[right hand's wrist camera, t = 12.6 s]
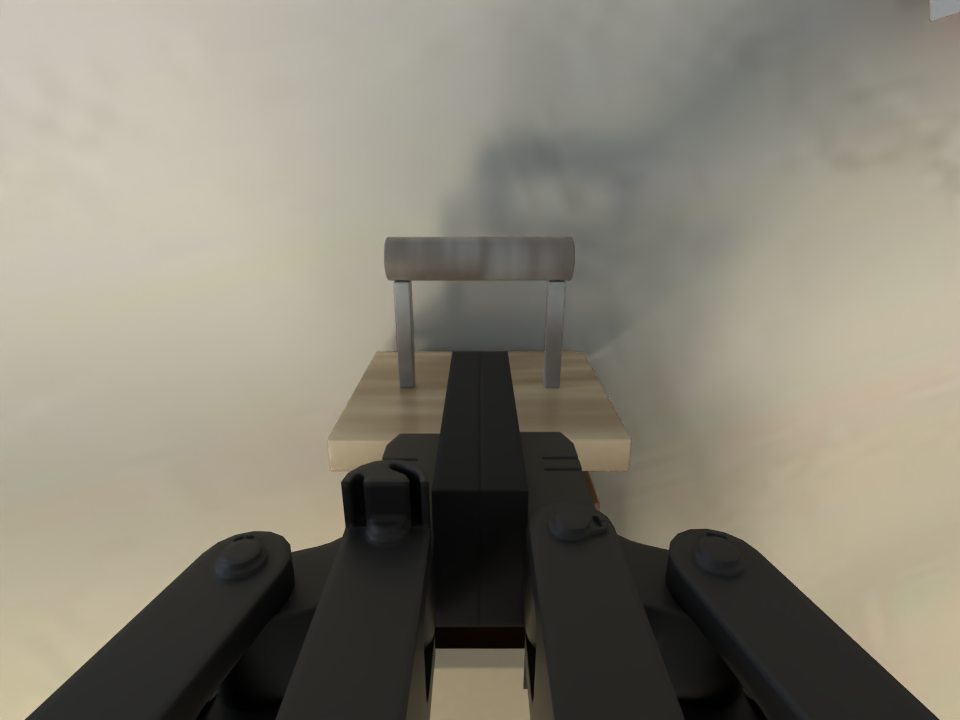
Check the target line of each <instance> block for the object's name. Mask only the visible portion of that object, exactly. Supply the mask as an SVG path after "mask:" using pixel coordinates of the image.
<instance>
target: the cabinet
mask: <svg viewBox="0 0 960 720" xmlns="http://www.w3.org/2000/svg"><path fill="white" fill-rule="evenodd" d="M435 654H436V655H435V666H434V678H433V689H432V701H431V712H430V720H530V711H529V700H528V689H523V681H524V654H525V649H435Z"/></svg>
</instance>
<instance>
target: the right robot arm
mask: <svg viewBox="0 0 960 720" xmlns="http://www.w3.org/2000/svg"><path fill="white" fill-rule="evenodd" d="M341 486H342V496H343V505H344V515H345V525H346V529H345V531H344V534H343V537H341V538H339V539H337V540H335V541H333V542H331V543H328V544H324V545H321V546H318V547H313V548H309V549H304V550H300V551H295V552H291V548H290V544H289V543H288V542H287V541H286V539H285V538H284V537H283V536H281V535H278V534H275V533H272V532H263V531H252V532H248V533H243V534H238V535H234V536H232V537H230V538H227V539H225V540H223V541H220V542H218V543H217V544H215V545H214V546H212V547H211V548H210V549H208V550H207V551H205V552H204V553H203V554H202V555H201V556H200V557H198V558H197V559H196V560H195V561H194V562H193V563H192V564H191V565H190V566H189V567H188V568H187V569H186V570H185V571H184V572H182V573H181V574H180V575H179V576H178V577H177V578H176V579H175V580H174V581H173V582H172V583H171V584H170V585H169V586H167V587H166V588H165V589H164V590H163V591H162V592H161V593H160V594H159V595H158V596H157V597H156V598H155V599H154V600H152V601H151V602H150V603H149V604H148V605H147V606H146V607H145V608H144V609H143V610H142V611H141V612H140V613H139V614H138V615H136V616H135V617H134V618H133V619H132V620H131V621H130V622H129V623H128V624H127V625H126V626H125V627H124V628H123V629H121V630H120V631H119V632H118V633H117V634H116V635H115V636H114V637H113V638H112V639H111V640H110V641H109V642H108V643H107V644H105V645H104V646H103V647H102V648H101V649H100V650H99V651H98V652H97V653H96V654H95V655H94V656H93V657H92V658H90V659H89V660H88V661H87V662H86V663H85V664H84V665H83V666H82V667H81V668H80V669H79V670H78V671H77V672H75V673H74V674H73V675H72V676H71V677H70V678H69V679H68V680H67V681H66V682H65V683H64V684H63V685H62V686H61V687H59V688H58V689H57V690H56V691H55V692H54V693H53V694H52V695H51V696H50V697H49V698H48V699H47V700H46V701H44V702H43V703H42V704H41V705H40V706H39V707H38V708H37V709H36V710H35V711H34V712H33V713H32V714H31V715H30V716H28V717H27V718H26V719H25V720H430V712H431V701H432V689H433V678H434V666H435V655H436V654H435V622H436V627H524V619H525V654H524V681H523V689H528V700H529V711H530V720H939V719H938V718H937V717H936V716H935V715H934V714H933V713H932V712H931V711H930V710H929V709H927V708H926V707H925V706H924V705H923V704H922V703H921V702H920V701H919V700H918V699H917V698H916V697H915V696H913V695H912V694H911V693H910V692H909V691H908V690H907V689H906V688H905V687H904V686H903V685H902V684H901V683H899V682H898V681H897V680H896V679H895V678H894V677H893V676H892V675H891V674H890V673H889V672H888V671H887V670H885V669H884V668H883V667H882V666H881V665H880V664H879V663H878V662H877V661H876V660H875V659H874V658H873V657H871V656H870V655H869V654H868V653H867V652H866V651H865V650H864V649H863V648H862V647H861V646H860V645H859V644H857V643H856V642H855V641H854V640H853V639H852V638H851V637H850V636H849V635H848V634H847V633H846V632H844V631H843V630H842V629H841V628H840V627H839V626H838V625H837V624H836V623H835V622H834V621H833V620H832V619H830V618H829V617H828V616H827V615H826V614H825V613H824V612H823V611H822V610H821V609H820V608H819V607H818V606H816V605H815V604H814V603H813V602H812V601H811V600H810V599H809V598H808V597H807V596H806V595H805V594H804V593H802V592H801V591H800V590H799V589H798V588H797V587H796V586H795V585H794V584H793V583H792V582H791V581H790V580H788V579H787V578H786V577H785V576H784V575H783V574H782V573H781V572H780V571H779V570H778V569H777V568H776V567H774V566H773V565H772V564H771V563H770V562H769V561H768V560H767V559H766V558H765V557H764V556H763V555H762V554H760V553H759V552H758V551H757V550H756V549H754V548H753V547H752V546H750V545H749V544H747V543H746V542H744V541H743V540H741V539H739V538H736V537H734V536H732V535H729V534H727V533H724V532H719V531H715V530H710V529H690V530H687V531H684V532H682V533H679V534H677V535H676V536H675V537H674V539H673V540H672V541H671V542H670V548H669V550H666V549H661V548H657V547H652V546H648V545H643V544H640V543H637V542H633V541H630V540H628V539H626V538H623V537H621V536H619V535H617V533H616V531H615V528H614V526H613V525H612V523H611V522H610V520H609V519H608V517H607V516H605V515H604V514H602V513H601V512H599V511H598V510H596V508H595V505H594V502H593V499H592V496H591V493H590V490H589V487H588V485H587V482H586V479H585V476H584V473H583V471H582V467H581V464H580V461H579V459H578V455H577V452H576V449H575V446H574V443H573V442H571V441H570V440H569V439H568V438H567V437H566V436H565V435H563V434H562V433H561V432H520V430H519V423H518V417H517V410H516V403H515V397H514V390H513V383H512V377H511V370H510V363H509V357H508V351H452V357H451V363H450V370H449V377H448V383H447V390H446V397H445V403H444V410H443V417H442V423H441V430H440V433H400V434H399V435H398V436H396V437H395V438H394V439H393V440H392V441H391V442H389V443H388V444H387V445H386V448H385V451H384V454H383V457H382V460H380V461H374V462H371V463H367V464H364V465H361V466H359V467H357V468H356V469H354V470H352V471H351V472H349V473H348V474H347V475H346V477H345V478H344V479H343V480H342V482H341Z"/></svg>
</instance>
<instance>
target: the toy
mask: <svg viewBox="0 0 960 720" xmlns="http://www.w3.org/2000/svg"><path fill="white" fill-rule="evenodd" d="M959 12H960V0H930V21H932V20H936V19H939V18H942V17H946V16H949V15H952V14H956V13H959Z"/></svg>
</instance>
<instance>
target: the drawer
mask: <svg viewBox="0 0 960 720" xmlns="http://www.w3.org/2000/svg"><path fill="white" fill-rule="evenodd" d="M574 262H575V249H574V241H573V238H572V237H387V238H386V241H385V246H384V265H385V272H386V277H387V279H388V280H389V281H394V301H395V318H396V336H397V351H377V352H376V353H375V355H374V357H373V359H372V361H371V362H370V364H369V366H368V368H367V370H366V371H365V373H364V375H363V377H362V379H361V380H360V382H359V384H358V386H357V387H356V389H355V391H354V393H353V395H352V396H351V398H350V400H349V402H348V404H347V405H346V407H345V409H344V411H343V412H342V414H341V416H340V418H339V420H338V421H337V423H336V425H335V427H334V429H333V430H332V432H331V434H330V436H329V438H328V440H327V443H328V452H329V461H330V469H331V471H352V470H354V469H356V468H357V467H359V466H361V465H364V464H367V463H371V462H374V461H380V460H382V457H383V454H384V451H385V448H386V445H387V444H388V443H389V442H391V441H392V440H393V439H394V438H395V437H396V436H398V435H399V434H400V433H440V430H441V423H442V417H443V410H444V403H445V397H446V390H447V383H448V377H449V370H450V363H451V357H452V351H415V350H414V328H413V306H412V284H411V281H496V280H547V303H546V326H545V349H544V351H508V357H509V363H510V370H511V377H512V383H513V390H514V397H515V403H516V410H517V417H518V423H519V430H520V432H561V433H562V434H563V435H565V436H566V437H567V438H568V439H569V440H570V441H571V442H573V443H574V446H575V449H576V452H577V455H578V459H579V461H580V464H581V467H582V471H583V473H584V476H585V479H586V482H587V485H588V487H589V490H590V493H591V496H592V499H593V502H594V505H595V508H596V510H598V511H599V508H600V503H599V500H598V497H597V494H596V491H595V489H594V486H593V483H592V480H591V477H590V475H589V472H588V471H628V469H629V461H630V452H631V443H632V439H631V437H630V436H629V434H628V432H627V430H626V428H625V427H624V425H623V423H622V421H621V419H620V418H619V416H618V414H617V412H616V410H615V409H614V407H613V405H612V403H611V401H610V400H609V398H608V396H607V394H606V392H605V391H604V389H603V387H602V385H601V384H600V382H599V380H598V378H597V376H596V375H595V373H594V371H593V369H592V367H591V366H590V364H589V362H588V360H587V358H586V357H585V355H584V353H583V352H582V351H562V338H563V319H564V301H565V281H564V280H571V279H572V276H573V271H574ZM435 649H525V619H524V627H436V622H435Z"/></svg>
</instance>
